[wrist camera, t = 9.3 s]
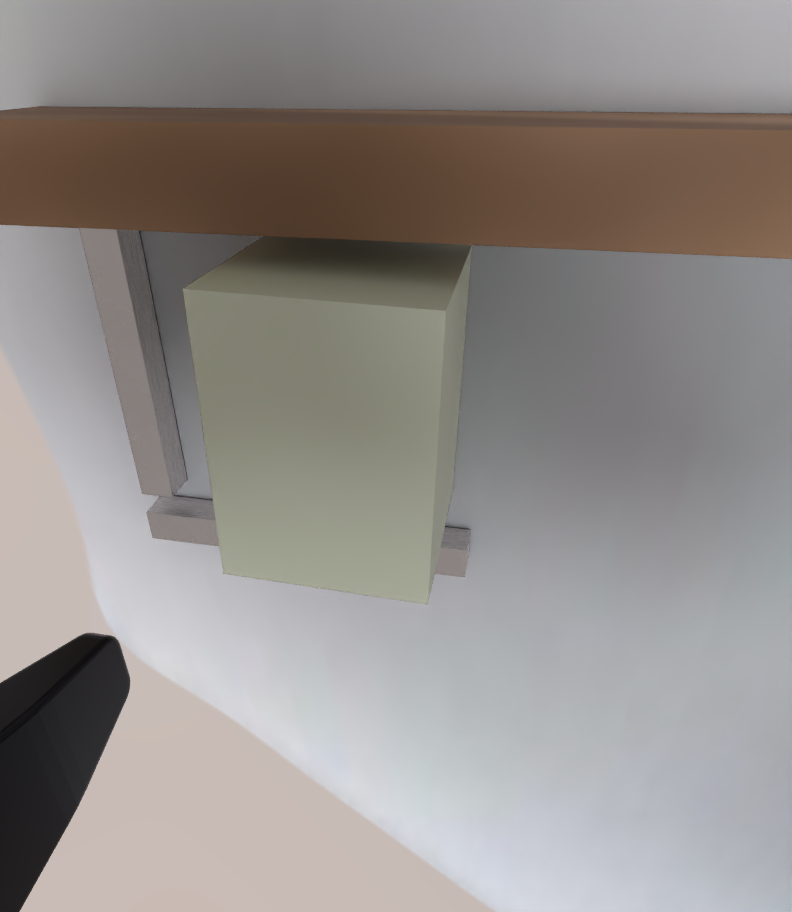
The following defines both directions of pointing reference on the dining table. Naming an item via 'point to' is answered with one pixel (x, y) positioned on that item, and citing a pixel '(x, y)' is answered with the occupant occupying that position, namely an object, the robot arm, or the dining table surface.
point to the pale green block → (332, 408)
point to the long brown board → (409, 176)
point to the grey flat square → (167, 396)
